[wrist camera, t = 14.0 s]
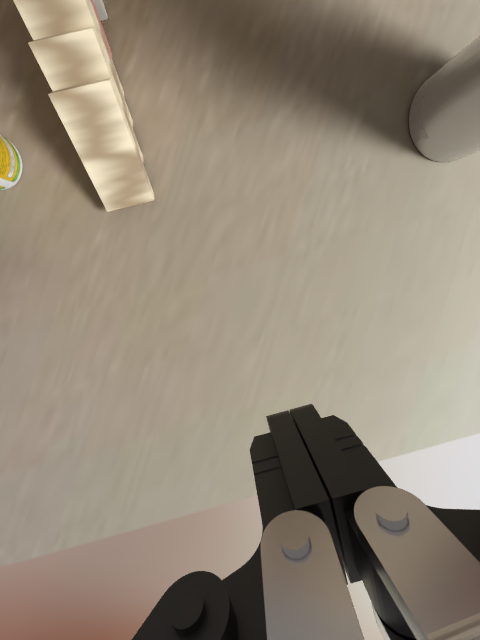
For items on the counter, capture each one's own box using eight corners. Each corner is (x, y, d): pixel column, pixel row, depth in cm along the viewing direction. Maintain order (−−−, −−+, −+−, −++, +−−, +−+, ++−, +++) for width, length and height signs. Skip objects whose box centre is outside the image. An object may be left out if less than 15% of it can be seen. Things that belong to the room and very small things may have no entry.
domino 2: (143, 157, 31) (94, 26, 24) (143, 163, 30) (92, 28, 23) (96, 168, 31) (33, 40, 24) (95, 175, 30) (27, 42, 23)
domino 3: (154, 194, 32) (111, 77, 25) (154, 200, 31) (109, 79, 24) (108, 205, 32) (52, 91, 25) (107, 211, 31) (47, 94, 24)
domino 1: (133, 121, 31) (78, -26, 23) (133, 127, 30) (76, -25, 22) (85, 133, 31) (13, -11, 23) (83, 139, 30) (8, -10, 22)
